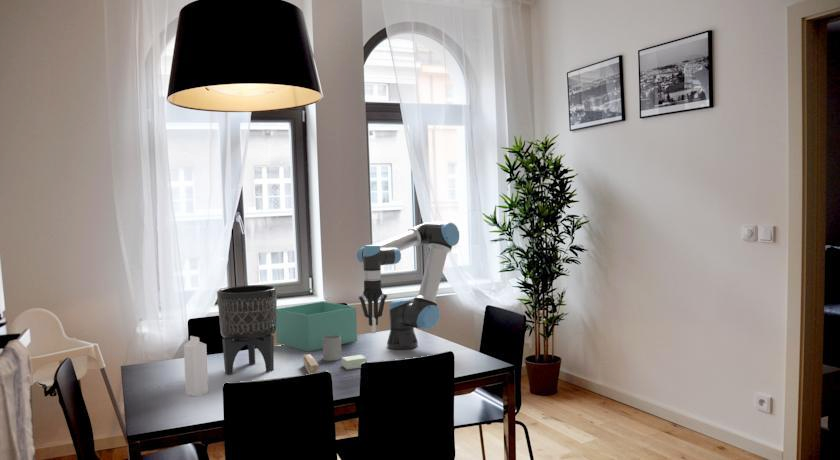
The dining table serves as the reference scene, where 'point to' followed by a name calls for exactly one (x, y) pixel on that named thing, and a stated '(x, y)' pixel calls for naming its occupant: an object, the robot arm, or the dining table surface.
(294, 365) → the dining table surface
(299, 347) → the box
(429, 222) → the robot arm
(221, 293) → the planter
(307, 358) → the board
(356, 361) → the block
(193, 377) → the milk
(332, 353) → the cup
